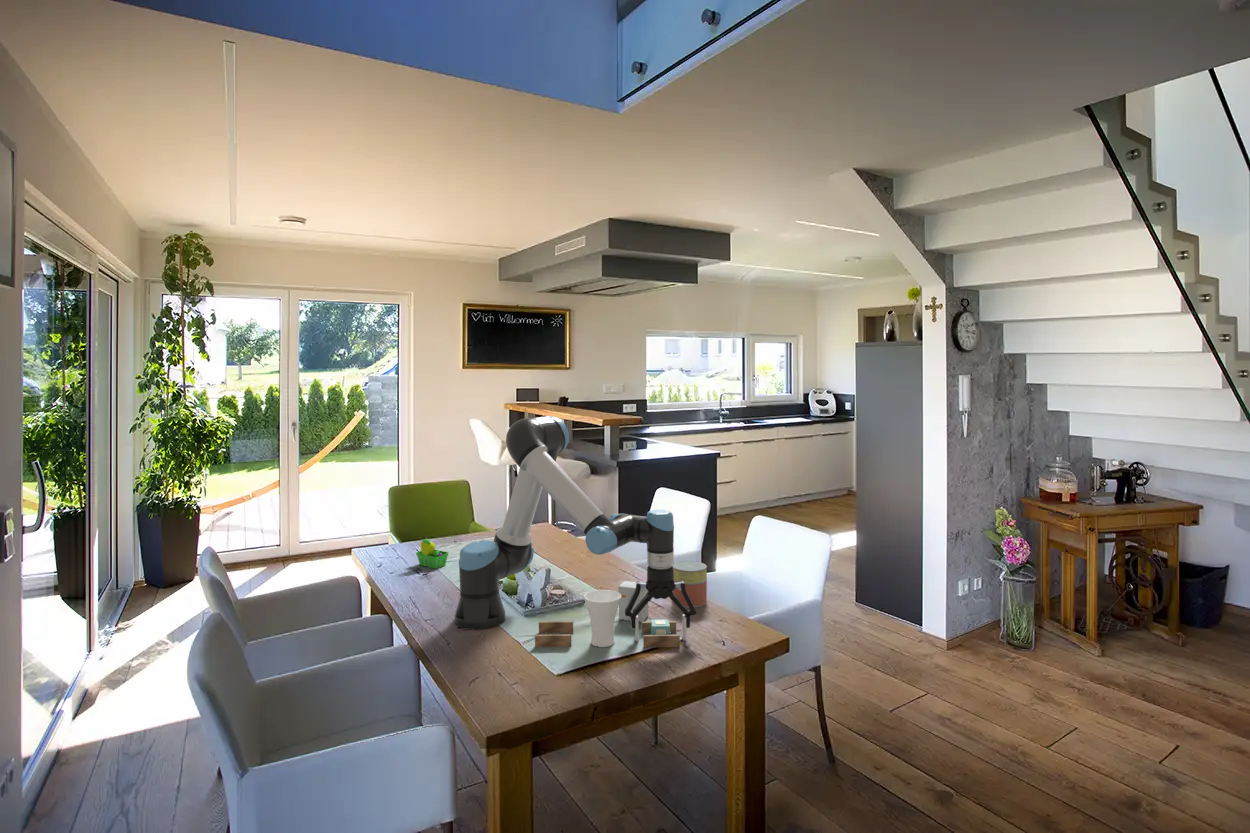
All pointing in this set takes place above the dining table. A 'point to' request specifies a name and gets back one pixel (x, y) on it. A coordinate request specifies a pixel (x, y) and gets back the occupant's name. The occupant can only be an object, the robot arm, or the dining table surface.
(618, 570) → the dining table surface
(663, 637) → the caddy right
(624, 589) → the small box
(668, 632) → the letter cube
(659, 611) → the dining table surface
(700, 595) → the canned food
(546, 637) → the caddy left
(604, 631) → the cup
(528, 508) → the robot arm
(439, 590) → the dining table surface
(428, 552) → the fruit basket
